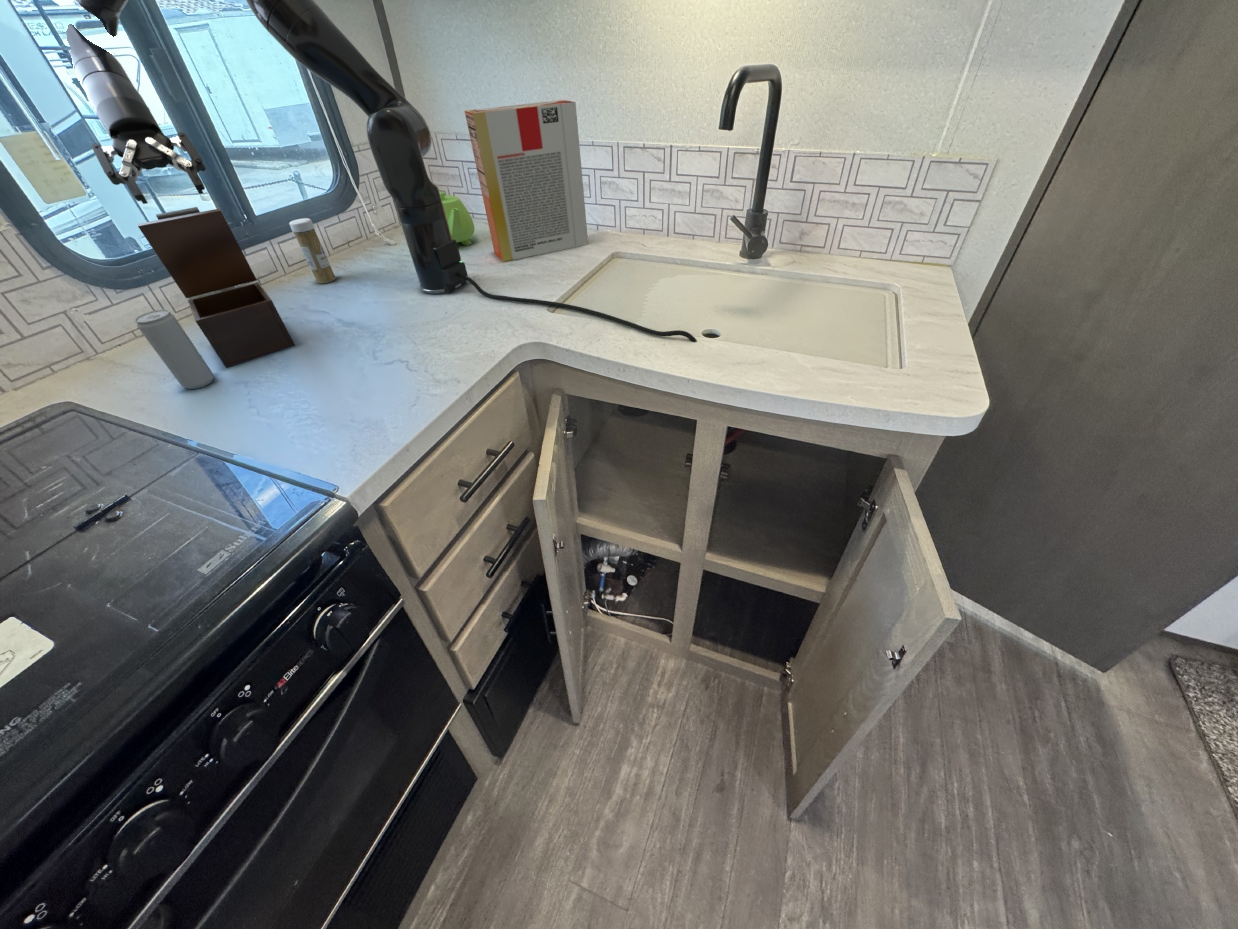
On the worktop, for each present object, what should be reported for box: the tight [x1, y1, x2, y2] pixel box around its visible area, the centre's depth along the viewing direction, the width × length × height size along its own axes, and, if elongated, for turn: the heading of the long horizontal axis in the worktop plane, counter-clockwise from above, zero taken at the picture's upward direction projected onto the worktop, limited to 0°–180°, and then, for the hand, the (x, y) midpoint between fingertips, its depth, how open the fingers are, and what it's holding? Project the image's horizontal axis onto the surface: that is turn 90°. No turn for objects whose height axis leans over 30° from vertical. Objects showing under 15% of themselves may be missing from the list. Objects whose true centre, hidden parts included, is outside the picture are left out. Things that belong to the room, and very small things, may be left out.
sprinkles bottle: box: [288, 217, 337, 285], centre depth 114 cm, size 5×5×13 cm
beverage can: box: [134, 309, 215, 390], centre depth 80 cm, size 5×5×12 cm
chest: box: [187, 281, 296, 368], centre depth 91 cm, size 13×12×9 cm
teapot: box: [439, 190, 476, 246], centre depth 132 cm, size 20×13×13 cm
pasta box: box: [464, 99, 589, 263], centre depth 118 cm, size 23×8×30 cm, turn 116°
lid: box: [136, 206, 258, 299], centre depth 87 cm, size 13×12×6 cm
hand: (172, 195), depth 88 cm, fingers open, 8 cm apart
